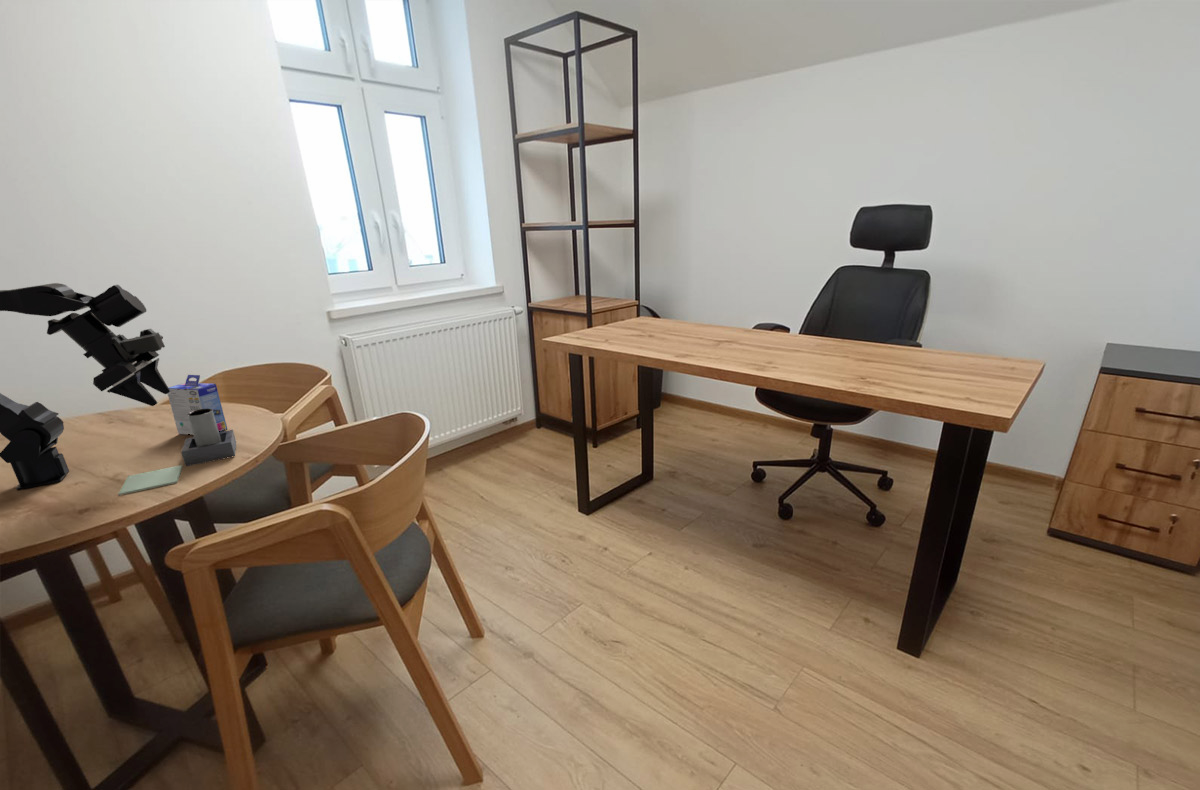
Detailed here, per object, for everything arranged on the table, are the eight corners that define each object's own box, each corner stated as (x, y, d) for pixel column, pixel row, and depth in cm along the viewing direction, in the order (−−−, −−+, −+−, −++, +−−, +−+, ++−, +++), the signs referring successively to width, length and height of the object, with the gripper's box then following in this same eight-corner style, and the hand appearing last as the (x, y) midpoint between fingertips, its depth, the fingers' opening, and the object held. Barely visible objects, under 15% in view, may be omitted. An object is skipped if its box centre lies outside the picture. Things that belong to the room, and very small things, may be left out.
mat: (119, 495, 101) (118, 493, 101) (128, 477, 108) (128, 476, 108) (177, 482, 105) (176, 481, 105) (182, 466, 113) (182, 464, 112)
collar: (185, 466, 113) (181, 451, 111) (190, 452, 120) (186, 438, 119) (234, 456, 117) (230, 442, 116) (236, 443, 124) (232, 429, 123)
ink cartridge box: (229, 428, 134) (214, 374, 129) (210, 436, 129) (194, 380, 124) (197, 426, 136) (182, 373, 131) (177, 434, 131) (160, 379, 126)
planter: (220, 448, 121) (208, 407, 118) (227, 453, 119) (215, 410, 115) (197, 455, 118) (184, 412, 115) (203, 460, 115) (190, 416, 112)
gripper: (119, 324, 99) (186, 388, 107) (150, 311, 116) (206, 367, 123) (60, 358, 97) (133, 420, 104) (100, 340, 113) (161, 395, 120)
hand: (161, 398), depth 113 cm, fingers open, 9 cm apart
